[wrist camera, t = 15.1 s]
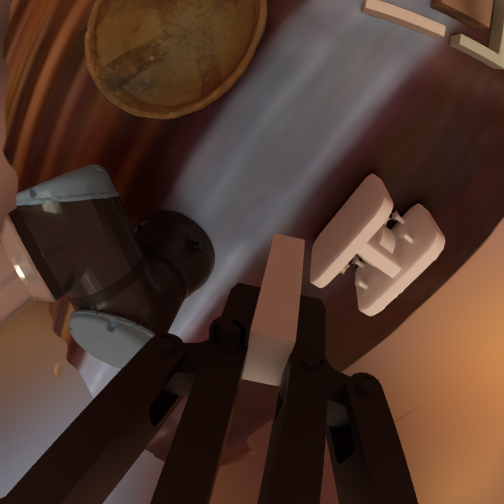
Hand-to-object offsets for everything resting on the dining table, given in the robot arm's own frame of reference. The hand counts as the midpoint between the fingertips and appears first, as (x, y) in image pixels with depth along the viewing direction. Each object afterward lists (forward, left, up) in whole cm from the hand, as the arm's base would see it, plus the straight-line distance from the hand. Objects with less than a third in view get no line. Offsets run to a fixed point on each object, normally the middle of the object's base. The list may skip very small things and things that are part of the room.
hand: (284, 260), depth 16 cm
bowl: (-17, +13, -29) cm, 36 cm away
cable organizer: (+12, -10, -29) cm, 33 cm away
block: (+16, +26, -29) cm, 42 cm away
